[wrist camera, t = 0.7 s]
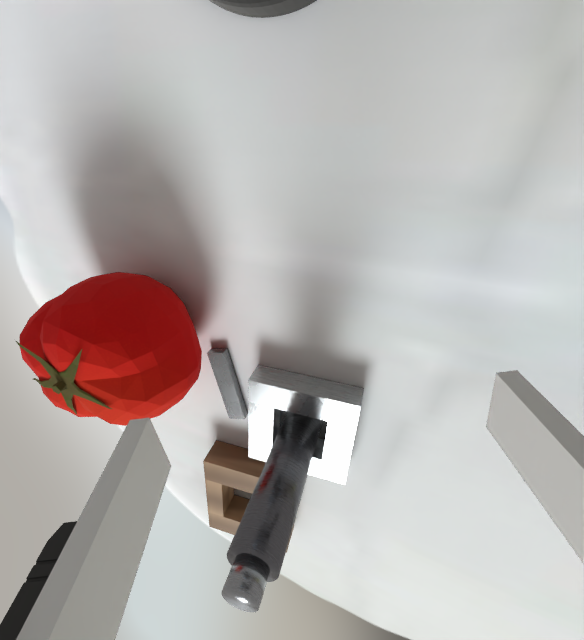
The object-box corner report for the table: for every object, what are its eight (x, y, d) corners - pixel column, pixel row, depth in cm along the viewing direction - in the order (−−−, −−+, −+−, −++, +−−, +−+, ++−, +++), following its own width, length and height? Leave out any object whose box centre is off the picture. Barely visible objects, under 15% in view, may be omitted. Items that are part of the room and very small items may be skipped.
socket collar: (258, 364, 33) (248, 380, 31) (363, 388, 31) (360, 406, 28) (257, 439, 38) (248, 457, 35) (348, 463, 35) (344, 484, 33)
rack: (216, 440, 40) (203, 461, 37) (300, 463, 37) (292, 487, 35) (220, 504, 45) (209, 526, 43) (293, 528, 43) (286, 552, 41)
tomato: (113, 228, 30) (-25, 270, 21) (243, 305, 30) (167, 385, 20) (95, 328, 37) (-17, 397, 27) (202, 392, 37) (129, 485, 27)
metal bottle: (288, 398, 34) (210, 574, 20) (324, 406, 33) (269, 596, 19) (286, 424, 35) (214, 603, 22) (321, 433, 35) (267, 624, 21)
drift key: (211, 348, 34) (207, 353, 33) (227, 348, 33) (223, 352, 32) (232, 413, 37) (229, 418, 36) (247, 413, 36) (244, 418, 36)
